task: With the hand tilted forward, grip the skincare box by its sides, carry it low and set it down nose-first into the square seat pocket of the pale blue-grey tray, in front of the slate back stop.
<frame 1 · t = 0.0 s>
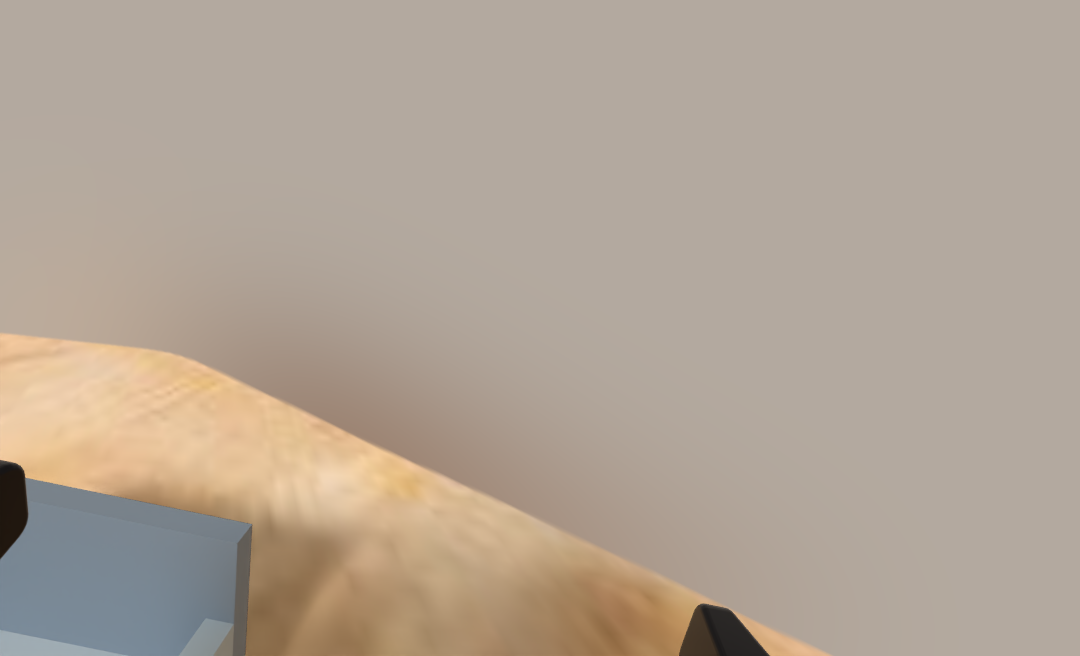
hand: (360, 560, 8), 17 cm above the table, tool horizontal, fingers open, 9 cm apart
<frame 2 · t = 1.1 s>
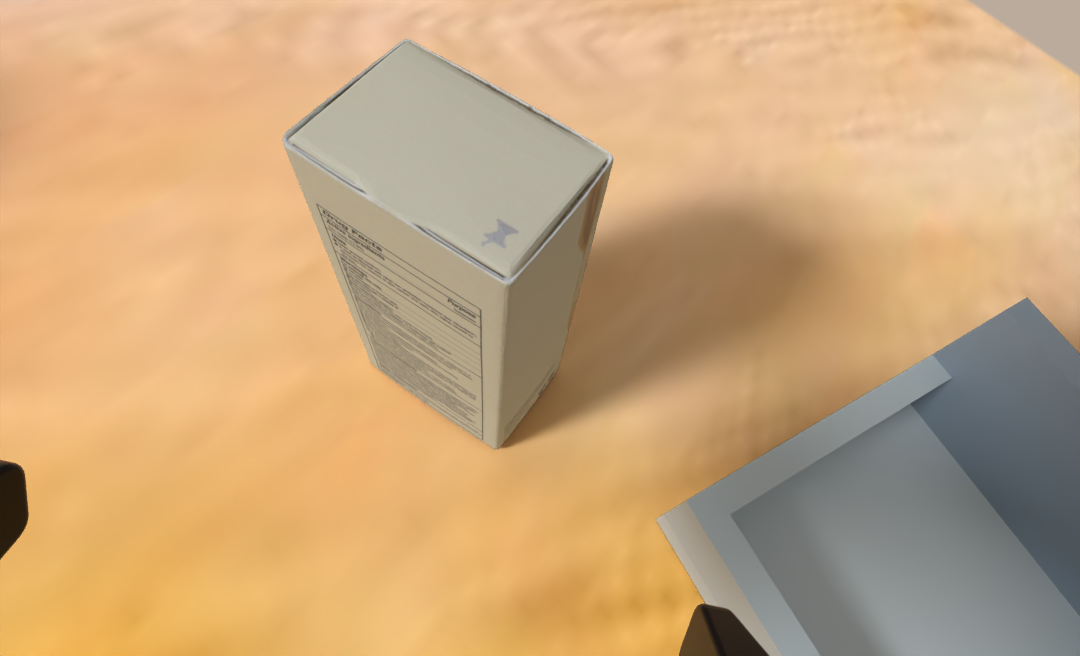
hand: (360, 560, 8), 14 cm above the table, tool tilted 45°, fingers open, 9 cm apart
seat tray: (886, 591, 23), on the table
skincare box: (462, 365, 25), on the table
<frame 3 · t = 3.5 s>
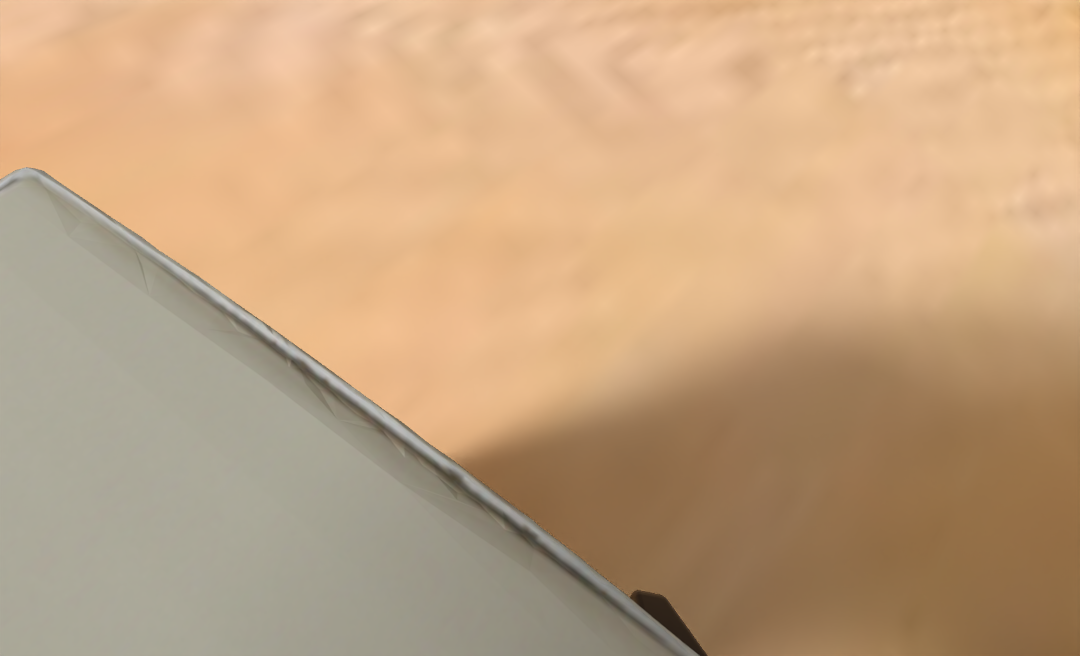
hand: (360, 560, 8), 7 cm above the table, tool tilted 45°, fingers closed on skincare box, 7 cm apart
skincare box: (390, 653, 14), on the table, touching gripper
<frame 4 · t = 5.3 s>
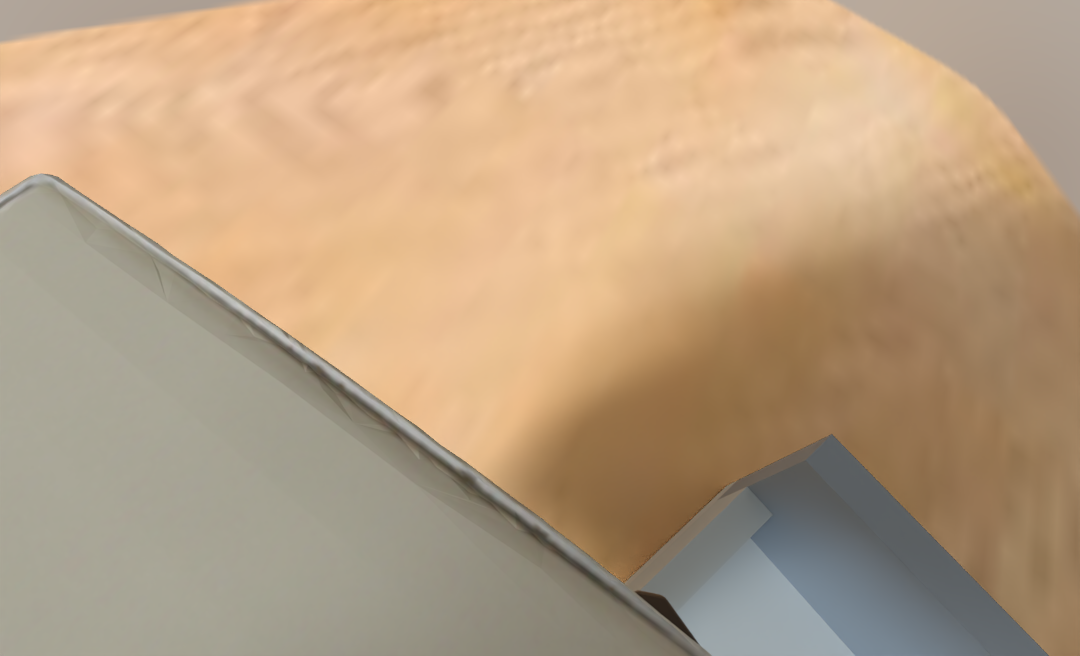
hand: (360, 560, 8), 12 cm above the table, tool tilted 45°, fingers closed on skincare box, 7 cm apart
skincare box: (382, 647, 14), point 5 cm above the table, touching gripper
when the fingers open (9 cm above the table, at t = 7.1 s): skincare box stays where it is, resting on seat tray.
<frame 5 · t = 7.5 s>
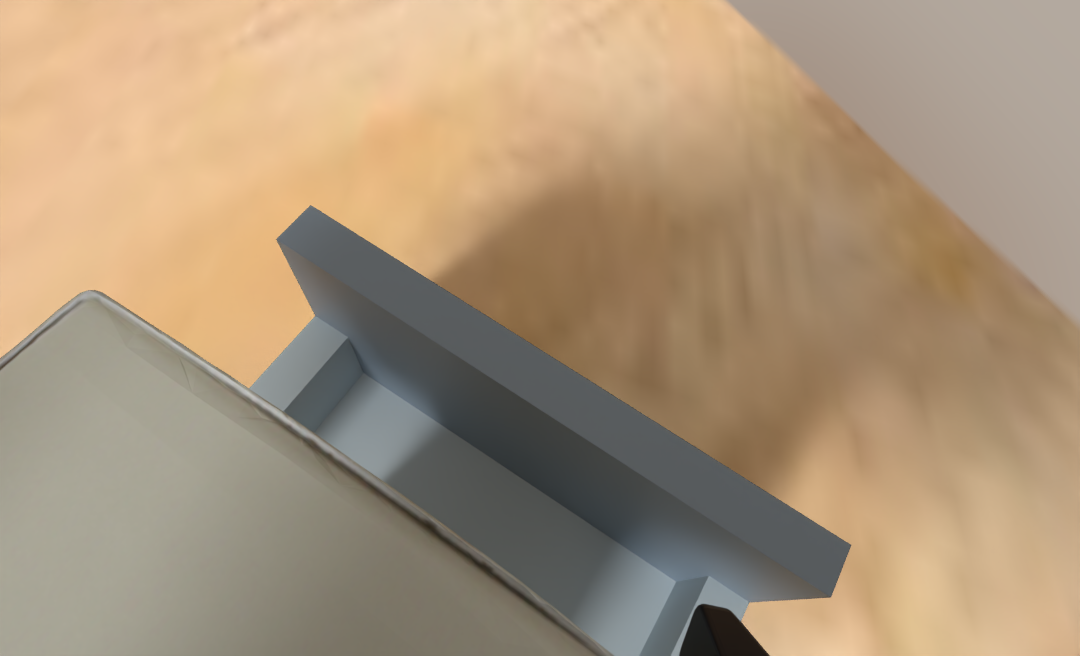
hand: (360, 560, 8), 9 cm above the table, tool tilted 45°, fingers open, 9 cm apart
seat tray: (400, 648, 16), on the table
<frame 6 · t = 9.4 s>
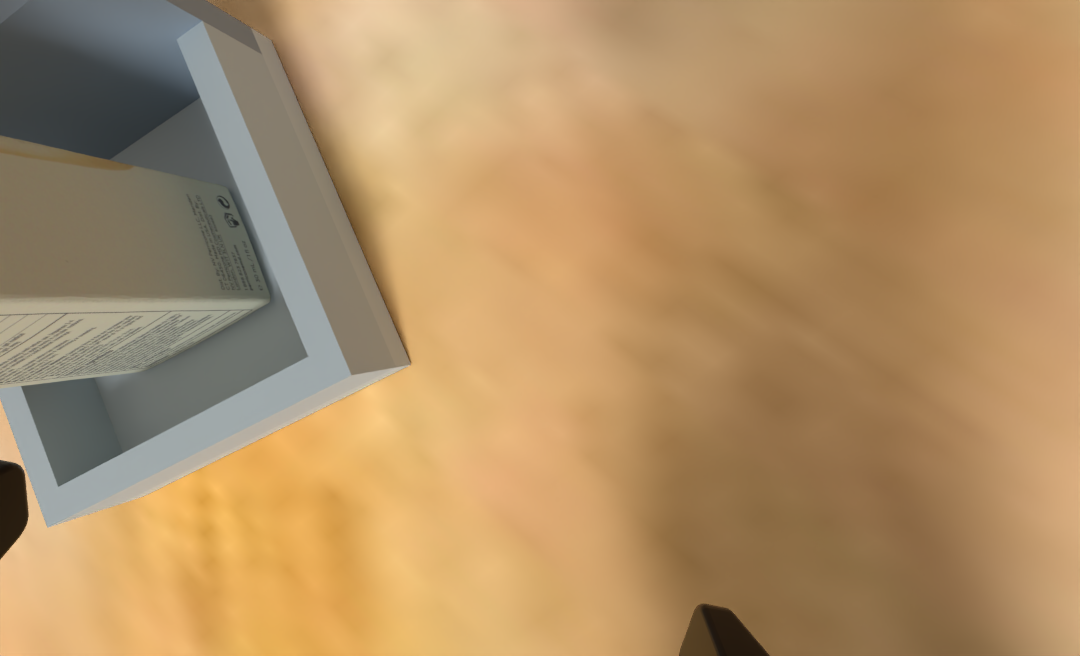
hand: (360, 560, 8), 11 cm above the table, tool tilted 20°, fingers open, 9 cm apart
seat tray: (204, 278, 23), on the table
skincare box: (187, 283, 22), point 1 cm above the table, touching seat tray
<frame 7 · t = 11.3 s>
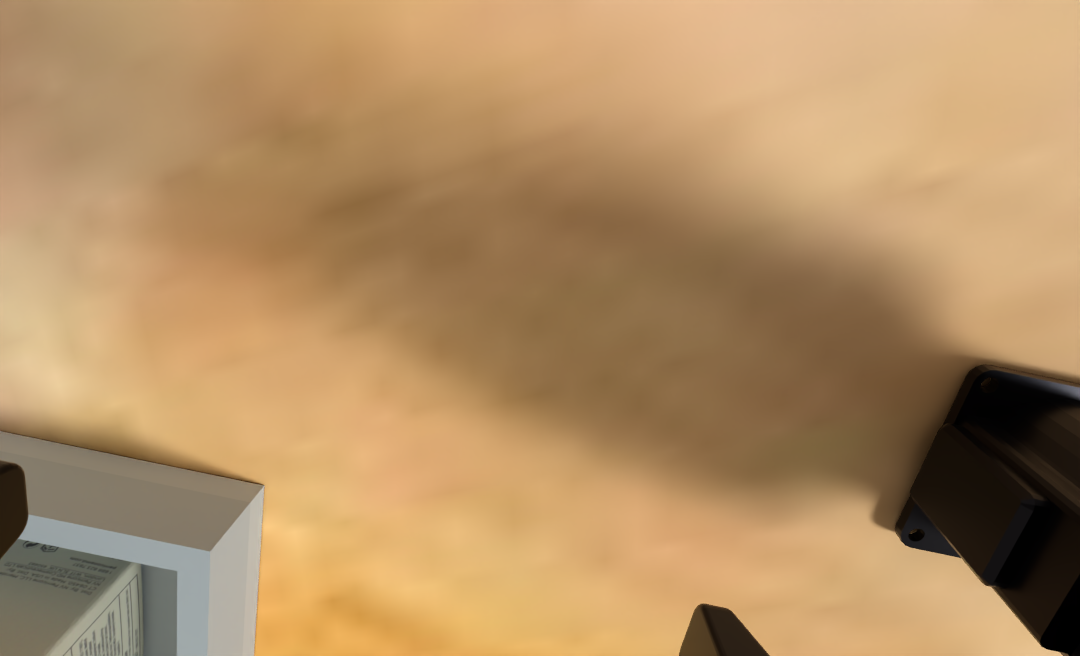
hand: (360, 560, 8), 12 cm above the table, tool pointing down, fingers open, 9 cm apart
seat tray: (101, 585, 25), on the table
skincare box: (92, 603, 24), point 1 cm above the table, touching seat tray
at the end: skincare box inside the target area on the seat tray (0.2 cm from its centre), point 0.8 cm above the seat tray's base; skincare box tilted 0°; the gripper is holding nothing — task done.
